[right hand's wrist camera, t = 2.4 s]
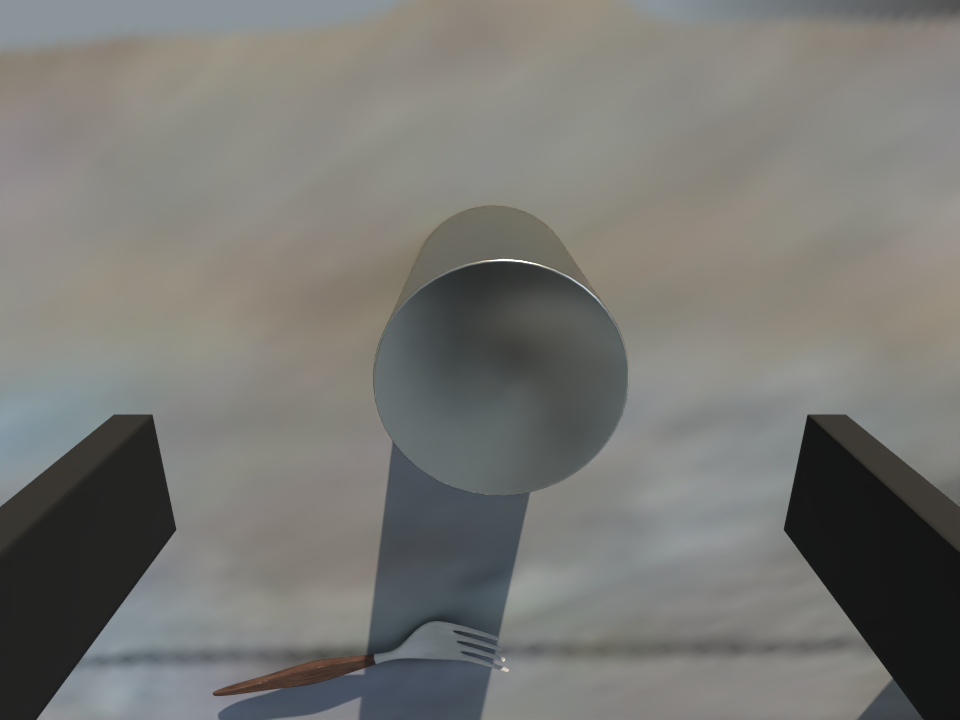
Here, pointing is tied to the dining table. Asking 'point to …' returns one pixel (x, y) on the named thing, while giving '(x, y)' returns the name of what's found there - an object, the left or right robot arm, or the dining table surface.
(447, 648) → the fork
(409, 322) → the canister
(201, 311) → the dining table surface
